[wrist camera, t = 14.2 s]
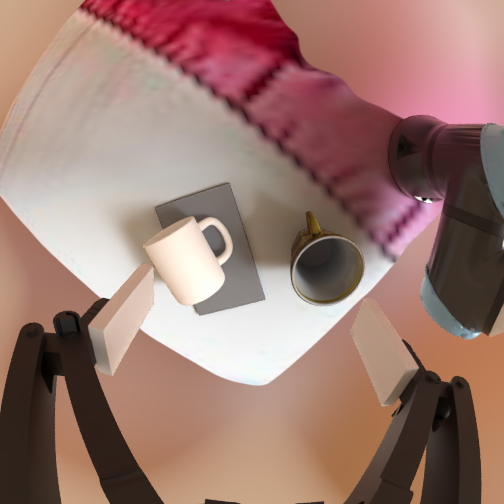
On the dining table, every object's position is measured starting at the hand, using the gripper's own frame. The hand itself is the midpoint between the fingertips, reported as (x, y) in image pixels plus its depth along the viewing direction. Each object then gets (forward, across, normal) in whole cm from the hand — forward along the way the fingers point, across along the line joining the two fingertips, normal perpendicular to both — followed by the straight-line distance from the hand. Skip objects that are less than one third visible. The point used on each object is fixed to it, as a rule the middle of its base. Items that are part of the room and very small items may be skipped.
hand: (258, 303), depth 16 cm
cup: (+23, -5, -11) cm, 26 cm away
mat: (+26, -6, -8) cm, 28 cm away
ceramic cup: (+27, +9, -3) cm, 29 cm away
